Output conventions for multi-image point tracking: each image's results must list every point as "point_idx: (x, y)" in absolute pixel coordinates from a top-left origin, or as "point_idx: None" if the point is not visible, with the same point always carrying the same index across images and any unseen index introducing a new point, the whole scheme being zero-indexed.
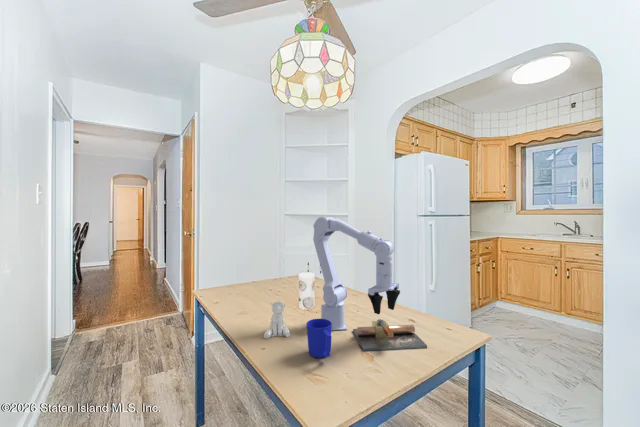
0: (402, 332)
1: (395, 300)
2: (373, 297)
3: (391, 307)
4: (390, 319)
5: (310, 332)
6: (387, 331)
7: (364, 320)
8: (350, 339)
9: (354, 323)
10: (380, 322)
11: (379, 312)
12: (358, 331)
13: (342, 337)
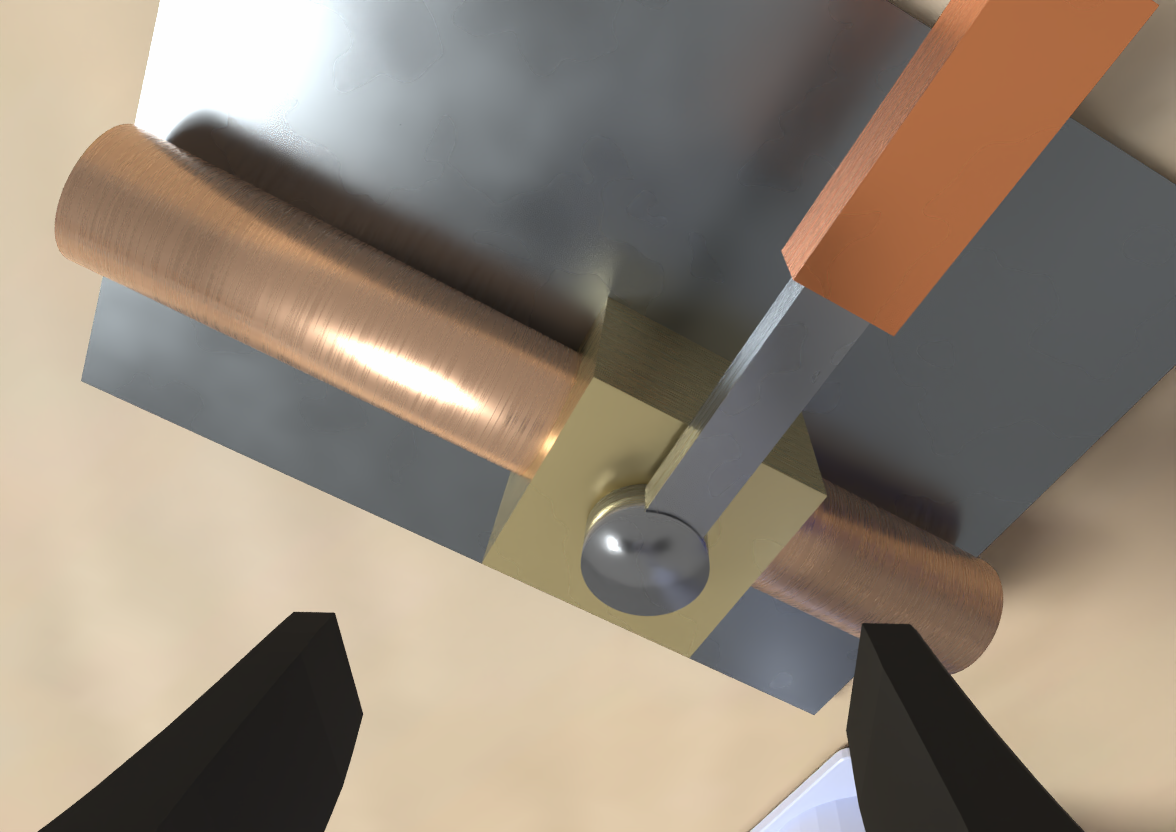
0: (353, 237)
1: (101, 816)
2: None
3: (323, 682)
4: (157, 653)
5: None
6: (1081, 81)
7: (468, 782)
8: (1038, 573)
9: (628, 792)
10: (704, 521)
11: (904, 651)
12: (998, 596)
13: (1060, 654)
